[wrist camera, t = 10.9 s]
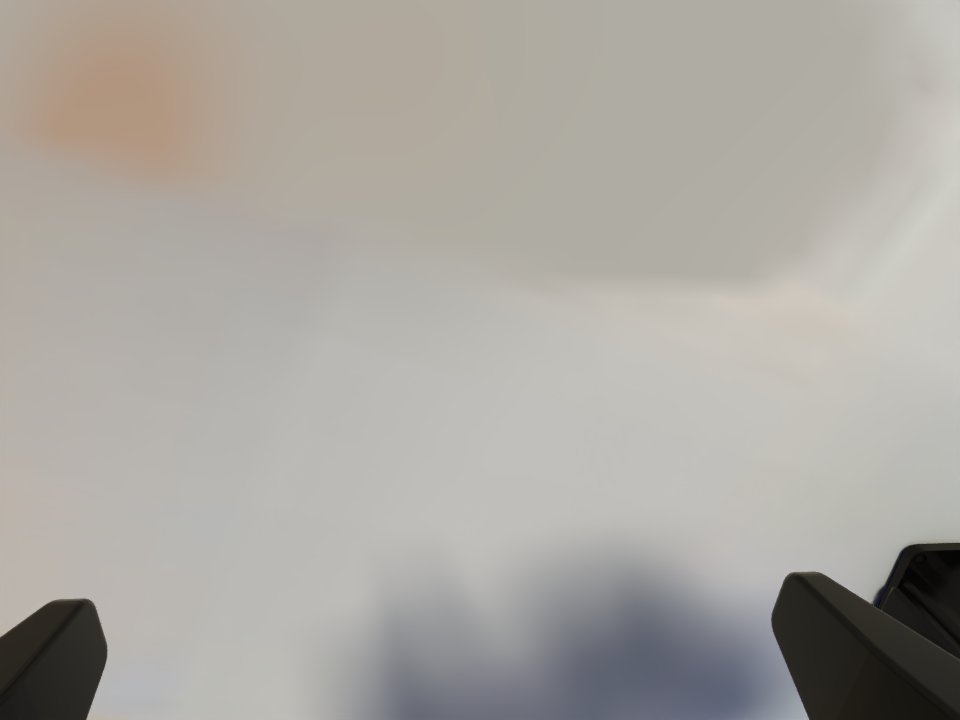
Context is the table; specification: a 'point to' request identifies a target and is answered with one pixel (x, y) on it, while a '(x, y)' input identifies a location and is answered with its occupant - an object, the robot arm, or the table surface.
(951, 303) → the table surface
